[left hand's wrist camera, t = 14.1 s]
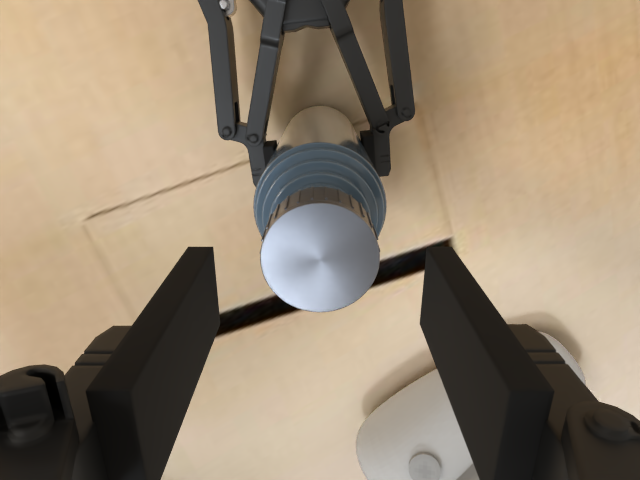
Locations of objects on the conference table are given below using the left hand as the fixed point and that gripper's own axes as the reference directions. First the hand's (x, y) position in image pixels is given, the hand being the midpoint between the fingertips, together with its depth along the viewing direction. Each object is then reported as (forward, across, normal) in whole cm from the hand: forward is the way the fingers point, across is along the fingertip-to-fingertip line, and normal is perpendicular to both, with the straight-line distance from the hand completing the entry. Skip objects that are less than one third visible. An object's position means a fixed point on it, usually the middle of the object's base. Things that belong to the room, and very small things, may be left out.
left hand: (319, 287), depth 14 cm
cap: (+2, 0, 0) cm, 2 cm away
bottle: (+27, 0, 0) cm, 27 cm away
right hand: (+21, 0, -5) cm, 21 cm away
